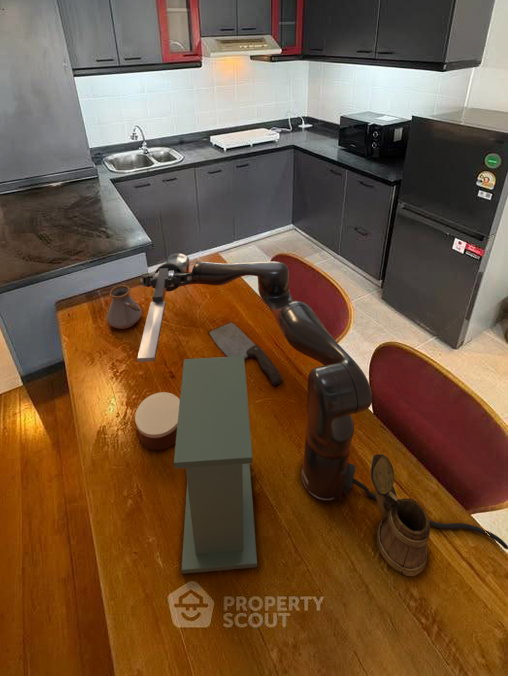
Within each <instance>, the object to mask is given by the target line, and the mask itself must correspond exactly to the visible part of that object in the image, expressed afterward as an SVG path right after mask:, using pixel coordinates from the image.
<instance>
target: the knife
mask: <svg viewBox="0 0 508 676" xmlns="http://www.w3.org/2000/svg"><path fill="white" fill-rule="evenodd" d="M168 275H169V270H168V268H163V269H159V272H158V277H157V281H156V285H155V288H153V293H152V301H150V304H149V308H148V312H147V316H146V319H145V324H144V328H143V332H142V336H141V340H140V345H139V349H138V353H137V357H136V360H137V361H136V362H137V363H144V362H145V363H147V362H155V361H156V357H157V352H158V346H159V343H160V342H159V341H160V336H161V331H162V325H163V320H164V316H165V315H164V314H165V311H166V300H165V297H166V293H167V291H166V288H165V278H166V277H168Z"/></svg>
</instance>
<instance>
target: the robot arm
mask: <svg viewBox="0 0 508 676" xmlns="http://www.w3.org/2000/svg"><path fill="white" fill-rule="evenodd" d="M190 263H191V262H190V257H189V256H188V255H186V254H185V253H179V252H178V253H173V254H171V255H169V256H168V257H167V259H166V261H165V262H164V263H162V264H161V265H159V266H158V267H157V268H156V270H155V271H154V274H151V275H149V274H144V273H142V274H140V275H139V276H140V286H143V287H147V288H150V287H152V289H155V285H156V281H157V277H158V272H159V269H163V268H168V270H169V275H168V277H166V278H165V288H166V292H173V291H176V290H177V289H178V288H180V287H181V288H182V287H186V286H190V285H202V286H203V285H206V286H213V287H218V286H219V287H220V286H225V285H227V284H229V283H232V282H233V281H235V280H237V279H239V278H241V277H242V278H243V277H244V276H245V277H246V276H247V277H248V276H253V277H257V287H258V288H257V290H258V294H259V297H260V298H261V300H262V301H263V303H264V304H265V305H266V306H267V308H268V309H269V310H270V312H271V313H272V315H273V317H274V319H275V320H276V322H277V324H278V326H279V328H280V330H281V332H282V334H283V336H284V338H285V339H286V341H287V343H288V345H290V347H292V348H293V349H294V350H295V351H297V352H299V353H301V354H302V355H304V356H306V357H308V358H310V359H313V360H315V361H317V362H318V363H320V364H322V365H321V366H316V367H313V368H312V369H310V371H309V373H308V377H307V394H306V395H307V396H306V397H307V398H306V415H307V416H306V417H307V418H306V419H307V422H306V423H307V424H306V433H305V441H304V451H303V460H302V467H301V482H302V485H303V487H304V489H305V490H306V492H307V493H308V494H309V495H310V496H311V497H313V498H315V500H317V501H320V502H333V501H338V502H340V501H341V500H342V495H343V494H345V495H348V496H351V493H352V488H353V484H354V486H355V485H356V486H357V487H359V488H360V489H361V490H363V491H364V493H365V494H366V495H367V496H368V497H369V498H371V499H372V500H374V501H376V502H377V500H376V494H375V493H373V492H371V491H370V489H369V488H368V487H367V486H366V485H365V484H363V483H362V482H360V481H359V480H357V479H356V478H354V477H355V472H356V465H354V464H352V463H350V462H349V459H350V455H351V454H350V453H351V447H352V442H353V438H354V434H355V433H354V432H355V424H354V423H355V422H354V420H353V417H352V415H356V414H359V413H362V412H364V411H366V410H368V409H370V407H371V406H372V404H373V391H372V388H371V385H370V382H369V380H368V378H367V376H366V374H365V373H364V371H363V370H362V368H361V366H360V365H358V363H357V362H356V361H355V359H353V358H352V357H351V356H350V355H349V353H348V352H347V351H346V350H345V349H344V348H343V347H342V346H341V345H340V343H338V342H337V341H336V339H335V338H334V337H333V336H332V335H331V334H330V332H329V331H328V330H327V329H326V327H325V326H324V324H323V323H322V321H321V319H320V318H319V317H318V316H317V314H316V313H315V311H314V310H313V309H312V308H311V306H310V305H308V304H307V303H306V302H304V301H300V300H294V299H293V297H292V295H291V291H290V271H289V267H288V265H287V264H285V263H284V262H280V261H275V260H273V261H272V260H266V261H265V260H264V261H263V260H262V261H243V262H230V263H227V262H225V263H224V262H213V261H212V262H211V261H201V260H200V261H197V262H195V263H194V265H193V268H192V270H191V272H190ZM384 502H385V504H386V506H388V505H387V503H386V501H384ZM429 524H430V527H433V528H436V529H441V530H468V531H472V532H475V533H479V534H481V535H484V536H487V537H489V536H488V535H487V533H488V534H489V535H490V537H491V539H492V540H494V541H495V542H497V543H498V544H499V545H501V546H502V548H503V549H505V550H508V545H507V543H506V542H505V541H504V540H503V539H502V538H501V537H500V536H498V535H496V534H494V532H491V531H489V530H487V529H484V528H483V527H482V528H481V527H479V526H475V525H472V524H469V523H463V522H455V523H441V522H436V521H433V520H430V519H429ZM483 529H484V530H485V531H486V532H487V533H485V531H484V530H483ZM490 537H489V538H490Z"/></svg>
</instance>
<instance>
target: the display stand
mask: <svg viewBox="0 0 508 676" xmlns="http://www.w3.org/2000/svg"><path fill="white" fill-rule="evenodd" d="M245 360H246V359H245ZM245 360H244V356H234V357H227V356H218V357H217V356H216V357H199V358H184V359H183V365H182V375H181V384H180V393H179V394H180V395H179V400H180V404H179V414H178V424H177V434H176V443H174V444H175V446H174V457H173V468H174V469H175V470H177V469H178V470H179V469H185V475H186V476H185V477H186V493H185V495H186V497H185V508H184V509H185V512H184V523H183V524H184V525H183V526H184V527H183V541H182V555H181V556H182V557H181V574H182V575H185V574H194V573H195V574H196V573H207V572H216V571H217V572H218V571H231V570H240V569H242V570H243V569H251V568H252V569H253V568H258V557H257V543H256V530H255V516H254V503H253V501H254V500H253V490H252V476H251V464H253V446H252V445H253V444H252V435H251V423H250V411H249V397H248V386H247V384H248V383H247V374H246V373H247V371H246V362H245Z"/></svg>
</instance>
